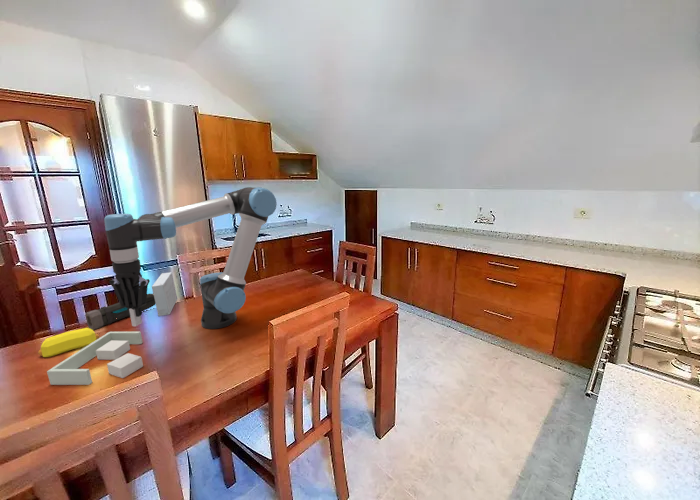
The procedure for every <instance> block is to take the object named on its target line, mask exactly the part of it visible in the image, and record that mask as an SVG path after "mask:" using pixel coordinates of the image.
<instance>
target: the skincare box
mask: <svg viewBox="0 0 700 500" xmlns="http://www.w3.org/2000/svg"><path fill="white" fill-rule="evenodd" d="M151 289H152V294H154V299H155V303H156V304H155V306H156V311H157V315H158V317H162V316H168V315H170V314H171V312H172V310H173V309H174V307H175V304H176V302H177V301H178V295H177V291H176V286H175V281H174V276H173V272H162V273H161V274H160V275H159V277H158V278H157V279H156V280H155V281H154V282H153V284H152V286H151Z"/></svg>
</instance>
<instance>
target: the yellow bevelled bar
mask: <svg viewBox="0 0 700 500" xmlns="http://www.w3.org/2000/svg"><path fill="white" fill-rule="evenodd" d="M99 338H100V335H99V334H98V333H96V332H95V331H94V330H92V329H90V328H89V327H84V328H83V327H82V328H80V329H79V328H78V329H73V330H69V331H65V332H62V333H59V334H56V335H53V336H49V337H46V338H45V339H44V340H43V342H41V345H40V349H39V350H38V351H37V352H38V353H37V355H39V356H41V357H43V358H51V357H54V356H57V355H60V354H63V353H66V352H69V351H71V350H75V349H82V348H84V347H86V346H88V345H89V344H91V343H92V342H94V341H95V340H97V339H99Z"/></svg>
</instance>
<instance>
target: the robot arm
mask: <svg viewBox="0 0 700 500" xmlns="http://www.w3.org/2000/svg"><path fill="white" fill-rule="evenodd" d="M277 206H278V205H277V198H276V197H275V195H274V193H273V192H272V191H271V190H269V189H267V188H264V187H261V186H260V187H259V186H257V187H251V186H250V187H249V186H248V187H244V188H240V189H237V190H234V191H231V192H226V193H224V195H223V196H219V197H216V198H212V199H209V200H203V201H201V202H200V201H199V202H196V203H192V204H191V203H190V204H188V205H183V206H179V207H174V208H170V209H166V210H162V211H158V212H153V213H144V214H142V215H140V216H139V217H137V218H134V217H133V215H132V214H131V213H116V214H113V213H112V214H106V216H105V217H104V219H103V220H104V229H105V234H106V239H107V244H108V249H109V255H110V260H111V262H112V263H111V265H112V273H114V274H115V276H114V278H113V279H111V280H109V281H108V282H109V284H110V285H111V287H112V288H113V290H114V294H115V295H116V297H117V300H118V303H119V302H120V305H121V306H122V307H123V306H125V307H126V308H127V309H128V314H129V316H130V317H129V318H130V320H131V321H130V322H131V326H132V327H137V326H139V325H141V324H142V323H143V321H142V315H143V311H141V306H143V305H145V304H146V299H147V294H148V287H149V286H148V285H149V284H150V279H149V278H144V277H143V275H142V273H141V269H142V267H141V260H140V259H139V257H140V256H139V255H140V254H139V250H138V242H143V241H152V240H153V241H154V240H162V239H163V240H166V239H170V238H175V237H176V235H177V228H180V227H183V226H187V225H191V224H195V223H198V222H199V223H200V222H203V221H206V220H209V219H214V218H216V217H220V216H224V215H236V214H237V215H238V214H239V216H240V222H239V225H238V227H237V230H236V233H235V237H234V239H233V243H232V246H231V249H230V251H229V254H228V258H227V260H226V263H225V267H224V269H223V272H222V271H221V272H219V271H218V272H213V273H208V274H204V275H203V276H201V277H200V278H199V286H200V293H201V300H202V305H203V309H202V315H201V319H200V324H201V327H202V328H203V329H208V330H209V329H210V330H216V329H222V328H225V327H228V326H230V325H232V324H234V323H235V322H236V321H237V319H238V318H237V317H238V316H237V313H236V312H238V311H239V310H240V309H241V308H242V307H243V306H244V304H245V303H246V300H247V299H246V298H247V297H246V292H245V288H246V285H247V282H246V280H245V276H246V273H247V270H248V267H249V264H250V261H251V258H252V255H253V252H254V249H255V246H256V243H257V240H258V236H259V234H260V232H261V228H262V226H263V225H265V224H267V221H268V219H269V217H270V216H271V215H273V214H274V213H275V211H276V209H277Z"/></svg>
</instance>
